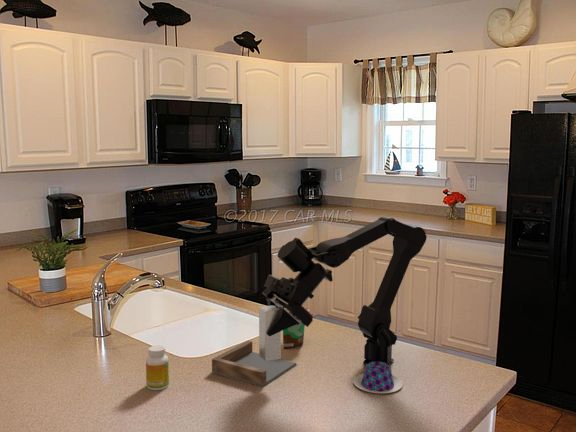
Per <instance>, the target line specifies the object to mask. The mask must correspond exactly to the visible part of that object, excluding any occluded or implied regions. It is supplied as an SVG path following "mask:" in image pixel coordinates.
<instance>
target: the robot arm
mask: <svg viewBox="0 0 576 432" xmlns="http://www.w3.org/2000/svg"><path fill="white" fill-rule="evenodd" d="M387 235H389V236H392V237H393V240H392V251H393V252H392V256H391V258H390V261H389V263H388V266H387V267H386V269H385V270H386V271H385V272H384V275H383V278H382V280H381V282H380V285H379V288H378V290H377V291H376V292H377V293H376V294H375V298H374V300H373V301H372V303H371V302H370V304H369V305H366V304H363V306H362V307H361V311H360V313H359V315H358V316H357V319H358V322H357V326H358V329H359V330H360V332H361V333H362V336H363V337H364V338H366V342H365V343H364V353H363V358H364V360H363V361H362V363H363V364H365V365H367V364H368V363H371V362H382V363H386V364H388V365H389V366H390V365H391V364H392V363H393V362H394V360H395V359H394V358H392V356H393V355H392V351H393V349H392V348H393V345H394V346H395V345H396V343H397V341H398V336H397V335H396V334H395V333H394V332H393V331H392V330H391V328H390V327H391V325H392V314H391V313H392V310H391V309H392V307H393V304H394V302H395V299H396V297H397V294H398V292H399V289H400V287H401V284H402V282H403V280H404V277H405V275H406V272H407V270H408V268H409V265H410V263H411V261H412V259H413V258H415V256H417V255H418V254H419V253H420V252H422V248H423V247H424V245H426V242H427V233H426V231H425V230H424V228H422V227H420V226H416V225H412V224H408V223H403V222H400V221H399V220H396V219H395V218H393V217H388V216H385V215H383V216H380V217H379V218H378V219H377V220H375V221H372V222H371V223H369V224H367V225H365V226H362V227H360V228H359V229H357V230H355V231H352V232H351V233H349V234H347V235H345V236H342V237H335V238H330V239H327V240H323V241H321V242H319V243H318V244H316V246H312V247H309V248H308V247H307V246H306V245H305V244H304V242H303V241H302V240H301V239H300V238H299V237H294V238H293V239H292V240H290V241H288V242H287V243H285V244H283V245H282V246H281V247H280V248H279V250H278V252H277V258H278V259H279V260H280V261H281V262H282V263H283V264H284V265H285V266H286V267H287V268H288V269H289V270H290V271H292V272H293V273H298V272H299V273H298V274H297V275H296V276H295V277H294V278H293V277H289V278H286V277H281V278H279V277H277V276H274V275H272V274H268V276H267V277H266V278H267V279H266V280H265V283H264V285H263V287H265V289H263V291H262V294H263V295H264V296H265V297H266V301H267V306H271V305H274V306H276V307H277V308H279V315H278V317H277V318H276V320H275V321H274V323H273V324H272V326H271V327H270V329H269V330H268V332H267V335H268V336H272V335H274V334H276V333H278V332H280V331H281V332H283V330H285V329H287V328H289V327H292V326H294V325H299V324H300V323H299V322H298V321H299V320H300V321H302V322H301V323H303V324H304V325H305V327H307V328H308V327H310V325H311V324H312V323H313V321H314V320H313V319H314V317H313V315H312V314H311V313H310V312H309V311H308V310H307V309H306V308H305V307H304V306H303V305H304V304H305V303H306V301H308V299H311V300H312V299H313V298H314V297H315V296H314V294H313V293H314V291H315V290H316V289H317V288H318V287H319V286H320V284H321V283H322V282H323V281H324V280H326V281H329V282H333V271H332V270H331V269H330V268H333V269H335V268H339V267H340V266H342V265H343V264H344V263H346V262H347V261H348V260H349V259H350V257H351V256H352V255H353V254H354V253H355V252H356V251H358V250H361V249H362V248H364V247H366V246H368V245H371V244H372V243H374V242H376V241H377V240H379V239H381V238H384V237H385V236H387ZM313 260H314V261H313ZM315 261H317V263H315ZM322 264H323V265H325V266H328V267H330V268H325V267H324V266H323V265H322Z"/></svg>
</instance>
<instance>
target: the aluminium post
mask: <svg viewBox="0 0 576 432" xmlns="http://www.w3.org/2000/svg"><path fill="white" fill-rule="evenodd" d="M278 315H279V308H277V307H276V306H274V305H271V306H268V305H267V306H266V305H265V306H258V334H259V335H258V336H259V337H258V340H259V343H258V347H259V352H258V353H259V356H260V357H261V358H262V359H263V360H265V361H271V360H277V359H282V358H281V354H282V353H281V352H282V351H281V350H282V349H281V346H282V345H281V343H282V342H281V338H282V337H281V334H282V333H281V332H282V331H280V332H278V333H276V334H274V335H272V336H268V335H267V332H268V330H269V329H270V327H271V326H272V324H273V323H274V321H275V320H276V318H277V317H278Z"/></svg>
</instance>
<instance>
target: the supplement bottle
mask: <svg viewBox="0 0 576 432" xmlns="http://www.w3.org/2000/svg"><path fill="white" fill-rule="evenodd" d="M147 350H148V351H147V353H148V356H147V357H146V358H145V376H146V378H145V384H146V388H147V389H149V390H151V391H161V390H164V389H166V388H168V386H169V385H170V374H169V372H170V371H169V365H170V364H169V357H168V355H167V354H166V347H165V346H164V345H152V346H150V347H148V349H147Z"/></svg>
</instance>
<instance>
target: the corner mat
mask: <svg viewBox="0 0 576 432" xmlns="http://www.w3.org/2000/svg"><path fill="white" fill-rule="evenodd" d="M235 363H239V364H243V365H247V366H250V367H254V368H258V369H262V370H265V371H266V383H264V384H259V383H256V382H252V381H249V380H245V379H242V378H238V377H234V376H231V375H227V374H224V373H220V372H217V371H213V370H212V369H211V373H214V374H216V375H220V376H223V377H228V378H230V379H234V380H238V381H241V382H244V383H248V384H251V385H255V386H259V387H262V388H263V387H265V386H266V385H268V384H269V383H271V382H272V381H274V380H276V379H278V378H279V377H280V376H282V375H283V374H285V373H286V372H288V371H290V370H291V369H292V368H294V367H295V366H297V362H295V361H291V360H287V359H286V360H285V359H282V358H281V359H277V360H271V361H265V360H263V359H262V358H261V357H260V356H259V352H255V351H252V352H251V353H249V354H248V355H246V356H244V357H242V358H240V359H238V360H237V361H235Z"/></svg>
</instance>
